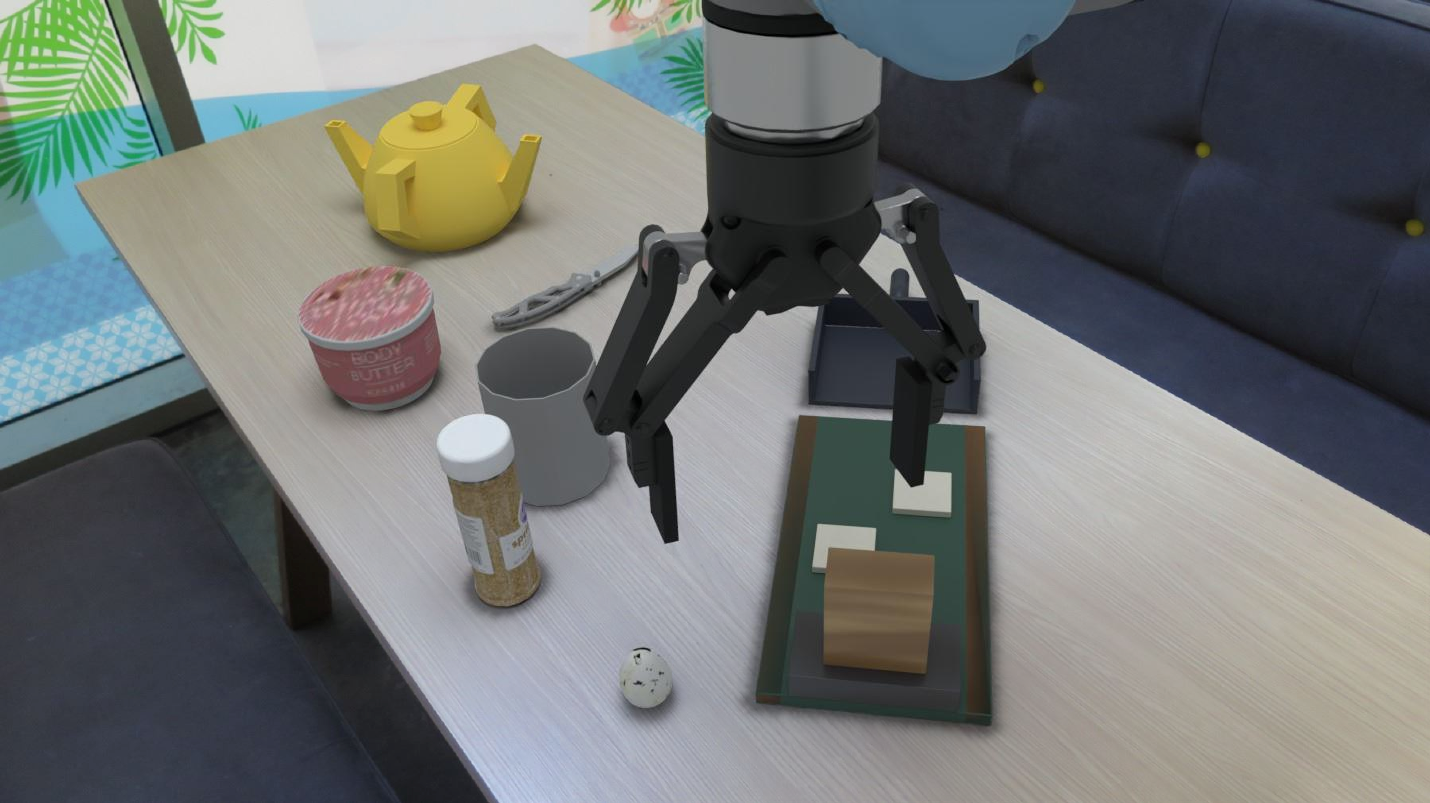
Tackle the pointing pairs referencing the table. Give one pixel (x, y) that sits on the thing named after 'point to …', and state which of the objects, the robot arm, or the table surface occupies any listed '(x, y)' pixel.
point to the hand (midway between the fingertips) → (788, 499)
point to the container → (373, 335)
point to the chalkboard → (884, 548)
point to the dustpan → (877, 354)
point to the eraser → (877, 636)
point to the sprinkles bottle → (489, 507)
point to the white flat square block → (840, 542)
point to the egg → (645, 677)
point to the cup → (545, 411)
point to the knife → (575, 284)
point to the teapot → (438, 173)
